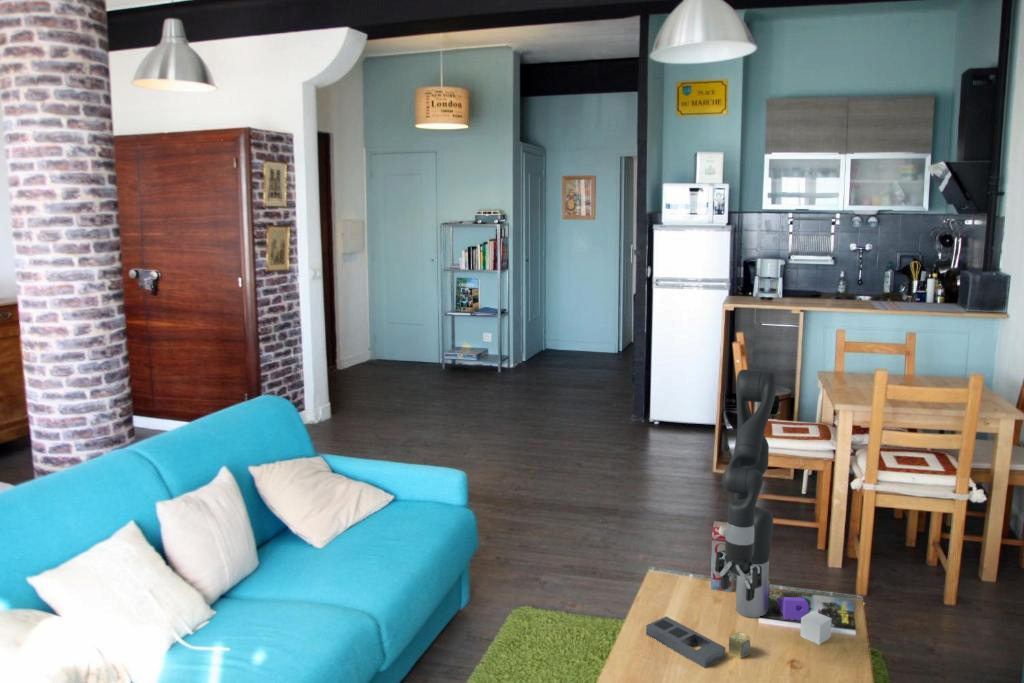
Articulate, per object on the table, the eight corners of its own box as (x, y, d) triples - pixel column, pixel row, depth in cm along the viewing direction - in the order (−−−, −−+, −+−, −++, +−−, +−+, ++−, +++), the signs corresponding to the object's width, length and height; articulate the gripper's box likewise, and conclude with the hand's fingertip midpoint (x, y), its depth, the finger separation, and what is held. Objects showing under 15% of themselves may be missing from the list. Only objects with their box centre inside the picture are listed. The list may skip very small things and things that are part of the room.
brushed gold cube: (736, 647, 239) (737, 631, 238) (750, 654, 235) (751, 638, 235) (727, 652, 237) (728, 635, 236) (741, 659, 233) (742, 642, 232)
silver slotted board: (666, 625, 252) (666, 615, 251) (725, 657, 234) (725, 647, 234) (646, 634, 247) (646, 625, 246) (704, 668, 229) (705, 657, 229)
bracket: (808, 622, 252) (809, 601, 251) (784, 621, 253) (785, 600, 252) (799, 603, 264) (800, 582, 263) (777, 602, 265) (777, 581, 264)
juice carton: (731, 592, 271) (733, 527, 267) (710, 589, 274) (712, 524, 270) (734, 583, 277) (736, 519, 273) (713, 580, 280) (715, 517, 276)
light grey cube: (800, 636, 244) (801, 617, 243) (811, 629, 248) (812, 610, 247) (819, 645, 240) (820, 625, 239) (830, 637, 243) (831, 618, 242)
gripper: (769, 544, 228) (766, 600, 231) (728, 527, 240) (725, 581, 242) (751, 550, 224) (748, 607, 226) (710, 533, 235) (707, 588, 238)
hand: (736, 594), depth 234 cm, fingers open, 8 cm apart
